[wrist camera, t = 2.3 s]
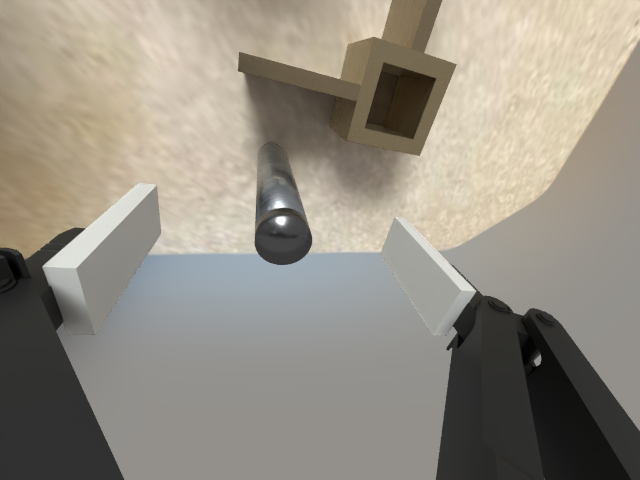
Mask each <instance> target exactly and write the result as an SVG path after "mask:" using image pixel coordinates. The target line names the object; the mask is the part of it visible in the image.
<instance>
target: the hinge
mask: <svg viewBox="0 0 640 480" xmlns="http://www.w3.org/2000/svg"><path fill="white" fill-rule="evenodd" d="M441 2H442V0H392V3H391V7H390V11H389V14H388V18H387V22H386V25H385V29H384V32H383V36H382V39H379V38H376V37H372V38H368V39H365V40H361V41H358V42H355V43H351V44H348V47H347V51H346V56H345V60H344V65H343V69H342V74H341V78H340V79H337V78H333V77H329V76H326V75H322V74H318V73H315V72H311V71H307V70H304V69H300V68H296V67H293V66H289V65H285V64H282V63H278V62H274V61H271V60H267V59H263V58H260V57H256V56H252V55H249V54H245V53H241V52H239V65H238V71H239V72H243V73H247V74H251V75H255V76H259V77H263V78H267V79H271V80H275V81H279V82H283V83H287V84H291V85H294V86H298V87H302V88H306V89H310V90H314V91H318V92H322V93H326V94H330V95H334V96H336V100H335V105H334V109H333V114H332V118H331V123H330V127H331V128H332V129H333V130H334V131H335V132H337V133H338V134H339V135H340V136H341V137H343V138H344V139H345V140H346V141H350V142H355V143H359V144H364V145H369V146H374V147H379V148H384V149H389V150H393V151H398V152H403V153H408V154H413V155H418V156H420V154H421V151H422V149H423V146H424V144H425V141H426V139H427V136H428V134H429V131H430V129H431V126H432V124H433V121H434V119H435V117H436V114H437V112H438V109H439V107H440V104H441V102H442V99H443V97H444V94H445V92H446V89H447V87H448V85H449V82H450V80H451V77H452V75H453V72H454V70H455V67H456V65H457V64H454V63H451V62H448V61H445V60H442V59H439V58H436V57H433V56H430V55H427V54H424V51H425V48H426V46H427V43H428V40H429V37H430V34H431V31H432V28H433V25H434V22H435V20H436V17H437V14H438V11H439V8H440V5H441ZM381 71H383V72H386V73H390V74H393V75H396V76H400V77H399V80H398V84H397V87H396V90H395V93H394V96H393V99H392V102H391V105H390V108H389V112H388V115H387V118H386V121H385V124H384V126H382V125H378V124H373V123H369V122H366V121H367V118H368V114H369V111H370V108H371V104H372V101H373V97H374V94H375V90H376V87H377V83H378V80H379V76H380V73H381Z"/></svg>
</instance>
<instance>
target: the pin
mask: <svg viewBox="0 0 640 480" xmlns="http://www.w3.org/2000/svg"><path fill="white" fill-rule="evenodd" d="M311 245H312V235H311V232H310V228H309V225H308V222H307V219H306V215H305V212H304V209H303V205H302V202H301V199H300V196H299V192H298V189H297V186H296V182H295V179H294V176H293V173H292V169H291V166H290V163H289V159H288V156H287V153H286V151H285V149H284V148H283V147H282V146H281V145H279V144H277V143H268V144H265V145H264V146H262V147H261V149H260V150H259V153H258V168H257V195H256V222H255V247H256V250H257V252H258V254H259V255H260V256H261V257H262V258H263V259H264V260H266V261H268V262H270V263H273V264H277V265H286V264H292V263H295V262H297V261H299V260H300V259H302V258H303V257H304V256H305V255H306V254H307V253H308V251H309V250H310V248H311Z"/></svg>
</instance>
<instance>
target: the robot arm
mask: <svg viewBox="0 0 640 480" xmlns="http://www.w3.org/2000/svg"><path fill="white" fill-rule="evenodd" d="M160 234H161V226H160V215H159V203H158V192H157V185H152V184H145V183H138V184H137V185H136V186H135V187H133V188H132V189H131V190H130V191H129V192H128V193H127V194H125V195H124V196H123V197H122V198H121V199H120V200H118V201H117V202H116V203H115V204H114V205H113V206H112V207H110V208H109V209H108V210H107V211H106V212H105V213H103V214H102V215H101V216H100V217H99V218H98V219H97V220H95V221H94V222H93V223H92V224H91V225H90V226H88V227H87V228H86V229H85V228H73V229H70V230H68V231H66V232H63V233H61V234H59V235H58V236H56V237H55V238H54V239H52V240H51V241H50V242H49V244H46V245H45V246H44V247H42V248H41V250H40V251H39V250H38V251H37V252H36V253H35V254H33V255H32V256H31V257H29V258H28V259H27V260H26V261H24V258H23V256H22V254H21V253H20V252H19V251H17V250H14V249H10V248H0V480H124V478H123V476H122V474H121V472H120V469H119V467H118V465H117V463H116V461H115V458H114V456H113V454H112V452H111V450H110V448H109V446H108V443H107V441H106V439H105V437H104V435H103V432H102V430H101V428H100V426H99V424H98V422H97V419H96V417H95V415H94V413H93V411H92V408H91V406H90V404H89V402H88V400H87V398H86V395H85V393H84V391H83V389H82V387H81V385H80V382H79V380H78V378H77V376H76V374H75V372H74V369H73V367H72V365H71V363H70V361H69V359H68V356H67V354H66V352H65V350H64V348H63V346H62V343H61V341H60V339H59V337H58V335H57V333H56V330H57V329H58V327H59V326H60V325H61V324H62V323H63V324H64V327H65V330H66V332H67V334H68V335H96V333H97V332H98V330H99V328H100V327H101V325H102V324H103V322H104V321H105V319H106V318H107V316H108V315H109V313H110V311H111V310H112V308H113V307H114V305H115V304H116V302H117V301H118V299H119V297H120V296H121V295H122V293H123V291H124V290H125V288H126V287H127V285H128V284H129V282H130V281H131V279H132V278H133V276H134V274H135V273H136V271H137V270H138V268H139V267H140V265H141V264H142V262H143V261H144V259H145V258H146V256H147V254H148V253H149V251H150V250H151V248H152V247H153V245H154V244H155V242H156V241H157V239H158V238H159V236H160ZM380 254H381V256H382V257H383V259H384V260H385V262H386V263H387V265H388V266H389V268H390V270H391V271H392V273H393V274H394V276H395V278H396V279H397V281H398V282H399V284H400V285H401V287H402V288H403V290H404V292H405V293H406V294H407V296H408V298H409V299H410V301H411V302H412V304H413V306H414V307H415V309H416V310H417V312H418V313H419V315H420V316H421V318H422V319H423V321H424V323H425V324H426V326H427V327H428V329H429V330H430V332H431V333H432V335H436V336H439V335H440V336H443V335H445V336H446V335H447V334H448V333H449V331H450V330H451V328H452V327H454V328H455V329H456V331H457V334H456V335H455V337H454V338H453V340H452V341H451V342H450V344H449V345H448V347H447V350H449V349H450V348H453V349H452V356H451V364H450V372H449V380H448V388H447V396H446V404H445V412H444V421H443V428H442V437H441V444H440V452H439V459H438V468H437V476H436V480H544V478H545V480H640V431H639V430H638V428H637V427H636V426H635V424H634V423H633V422H632V420H631V419H630V418H629V416H628V415H627V413H626V412H625V411H624V409H623V408H622V407H621V405H620V404H619V403H618V401H617V400H616V399H615V397H614V396H613V395H612V393H611V392H610V390H609V389H608V388H607V386H606V385H605V383H604V382H603V381H602V379H601V378H600V377H599V375H598V374H597V373H596V371H595V370H594V368H593V367H592V366H591V365H590V363H589V362H588V361H587V359H586V358H585V356H584V355H583V354H582V352H581V351H580V349H579V348H578V347H577V345H576V344H575V343H574V342H573V340H572V339H571V337H570V336H569V334H568V333H567V332H566V330H565V329H564V328H563V326H562V325H561V324H560V323H559V322H558V321H557V320H556V319H555V318H553V316H552V315H550V314H548V313H546V312H543V311H541V310H538V309H534V308H532V309H529V310H528V311H527V313H526V314H525V315H524V316H522V315H518V314H515V313H513V311H512V310H511V309H510V307H509V306H508V305H506V304H505V303H503V302H502V301H500V300H498V299H496V298H494V297H491V296H483V295H482V294H481V293H480V292H479V291H478V290H477V289H476V288H475V287H474V286H473V285H472V284H471V283H470V282H469V281H468V280H466V278H465V277H464V276H463V275H462V274H460V272H459V271H458V270H457V269H456V268H455V267H454V266H453V265H451V264H450V263H448V262H447V261H446V260H445V258H444V257H443V256H442V255H441V254H440V253H439V252H438V251H437V250H436V249H435V248H434V247H433V246H432V245H431V244H430V243H429V242H428V241H427V240H426V239H425V238H424V237H423V236H422V235H421V234H420V233H419V232H418V231H417V230H416V229H415V228H414V227H413V226H412V225H411V224H410V222H409V221H408V220H407V219H405V218H398V217H395V218H394V220H393V223H392V225H391V228H390V230H389V233H388V235H387V238H386V240H385V243H384V245H383V248H382V250H381V253H380ZM540 354H541V359H542V360H541V364H540V365H539V366H536V365H535V363H534V360H535V359H536V358H537V357H538V356H539V355H540Z"/></svg>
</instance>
